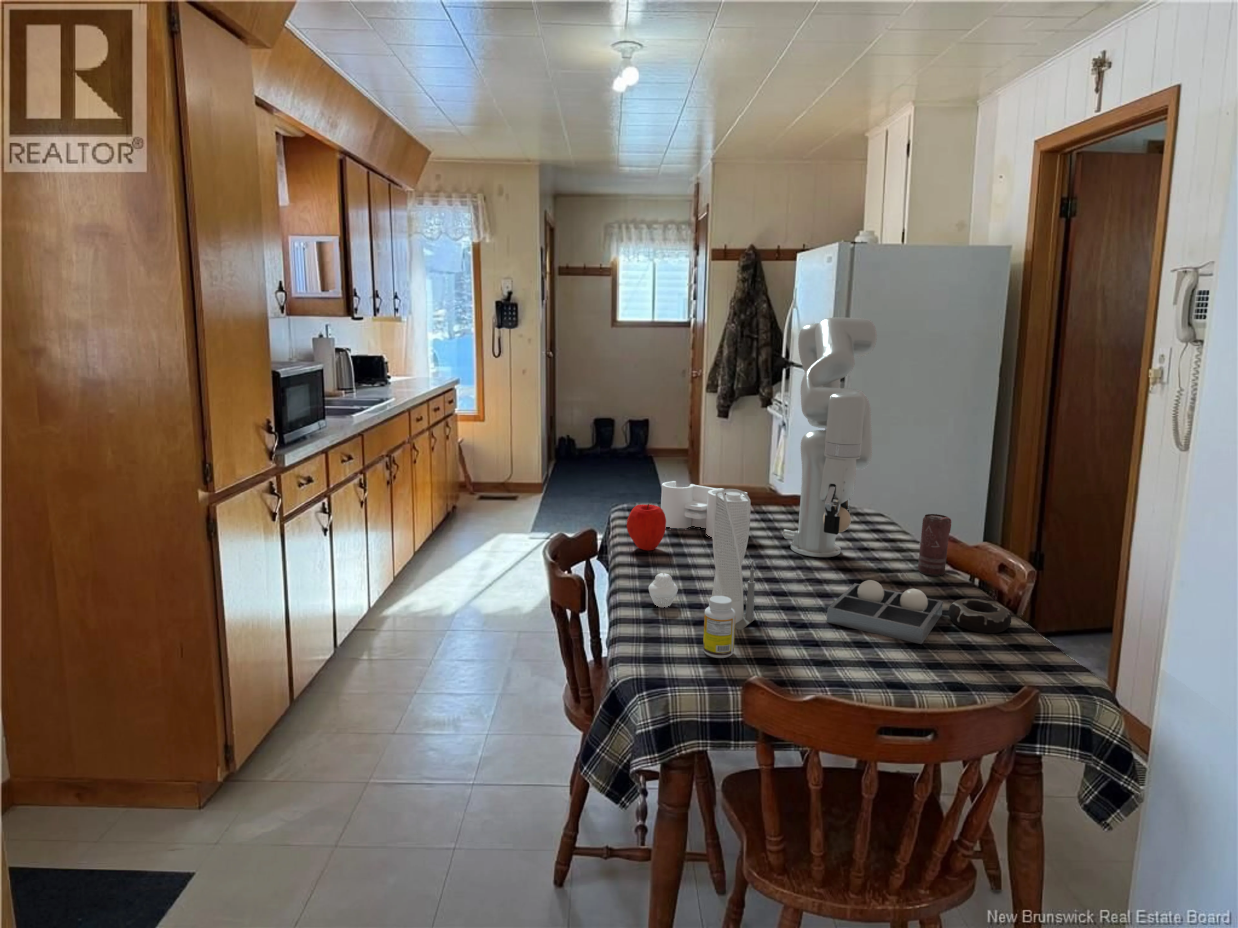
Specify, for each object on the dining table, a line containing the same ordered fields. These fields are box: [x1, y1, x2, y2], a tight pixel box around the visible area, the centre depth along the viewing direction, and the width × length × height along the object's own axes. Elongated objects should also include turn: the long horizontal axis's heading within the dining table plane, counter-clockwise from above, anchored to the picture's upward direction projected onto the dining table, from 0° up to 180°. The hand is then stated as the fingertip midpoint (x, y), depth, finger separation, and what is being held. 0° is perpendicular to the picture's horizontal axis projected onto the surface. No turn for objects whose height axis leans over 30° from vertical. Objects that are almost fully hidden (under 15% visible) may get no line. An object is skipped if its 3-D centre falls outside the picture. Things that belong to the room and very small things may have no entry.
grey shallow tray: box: [826, 582, 944, 645], centre depth 165 cm, size 18×18×3 cm
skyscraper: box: [711, 488, 756, 631], centre depth 159 cm, size 8×8×28 cm
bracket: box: [660, 480, 748, 539], centre depth 226 cm, size 25×10×12 cm, turn 57°
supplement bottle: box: [702, 596, 736, 659], centre depth 146 cm, size 6×6×10 cm
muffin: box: [648, 572, 679, 608], centre depth 169 cm, size 6×6×7 cm
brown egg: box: [823, 506, 852, 534], centre depth 179 cm, size 6×6×6 cm
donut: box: [947, 598, 1012, 634], centre depth 163 cm, size 12×12×4 cm
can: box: [917, 513, 952, 577], centre depth 194 cm, size 6×6×14 cm
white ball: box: [900, 588, 928, 612], centre depth 166 cm, size 5×5×5 cm
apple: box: [626, 503, 666, 551], centre depth 207 cm, size 10×10×12 cm
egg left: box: [857, 579, 884, 602], centre depth 171 cm, size 5×5×5 cm
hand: (835, 528), depth 179 cm, fingers closed on brown egg, 5 cm apart
